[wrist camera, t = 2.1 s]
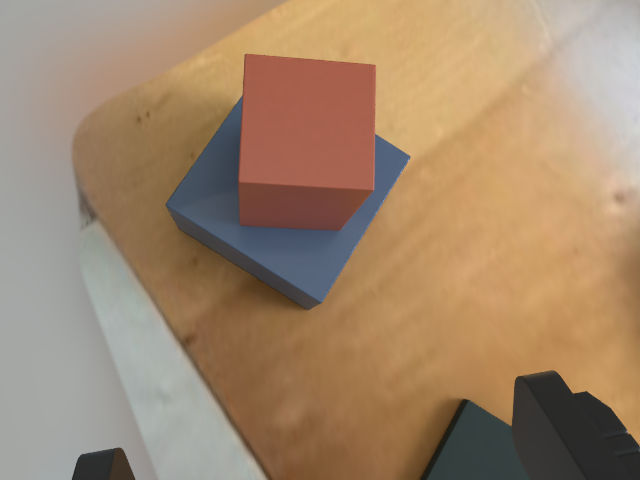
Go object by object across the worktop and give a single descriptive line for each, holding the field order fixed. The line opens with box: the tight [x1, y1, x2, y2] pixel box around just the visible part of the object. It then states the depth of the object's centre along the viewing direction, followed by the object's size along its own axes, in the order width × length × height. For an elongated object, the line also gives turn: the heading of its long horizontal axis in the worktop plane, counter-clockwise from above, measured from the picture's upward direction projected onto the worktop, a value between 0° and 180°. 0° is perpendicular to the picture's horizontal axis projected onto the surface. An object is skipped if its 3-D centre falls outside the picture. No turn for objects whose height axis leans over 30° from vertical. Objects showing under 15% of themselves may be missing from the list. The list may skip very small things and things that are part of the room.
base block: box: [166, 95, 410, 310], centre depth 33 cm, size 9×9×6 cm
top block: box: [238, 54, 376, 231], centre depth 26 cm, size 5×5×8 cm
